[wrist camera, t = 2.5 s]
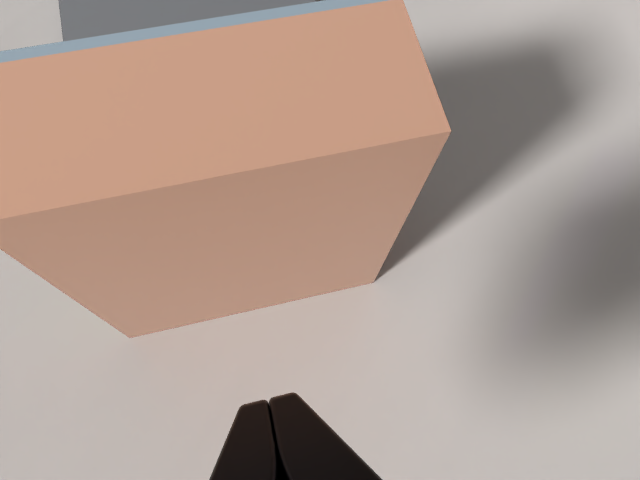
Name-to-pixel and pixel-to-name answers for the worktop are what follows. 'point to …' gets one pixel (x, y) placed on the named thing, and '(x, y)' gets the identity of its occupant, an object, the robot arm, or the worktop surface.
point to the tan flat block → (216, 159)
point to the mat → (149, 13)
